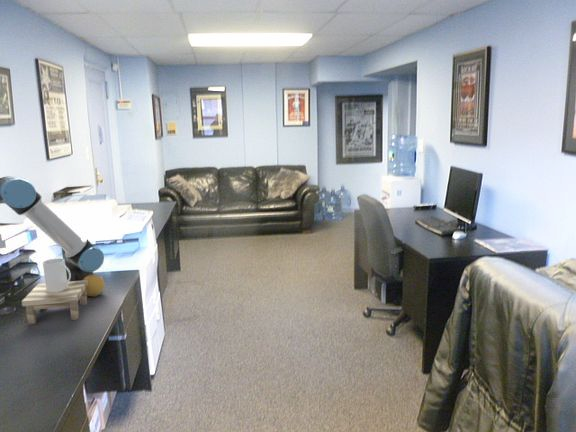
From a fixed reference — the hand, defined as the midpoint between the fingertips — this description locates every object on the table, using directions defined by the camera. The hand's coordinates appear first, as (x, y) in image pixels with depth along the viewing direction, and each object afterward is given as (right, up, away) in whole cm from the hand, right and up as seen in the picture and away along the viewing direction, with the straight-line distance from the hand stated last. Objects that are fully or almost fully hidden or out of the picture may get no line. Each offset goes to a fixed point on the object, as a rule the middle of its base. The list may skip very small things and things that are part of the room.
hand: (3, 240), depth 185 cm
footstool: (+18, -31, +8) cm, 37 cm away
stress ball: (+25, -27, +27) cm, 46 cm away
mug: (+19, -21, +7) cm, 29 cm away
